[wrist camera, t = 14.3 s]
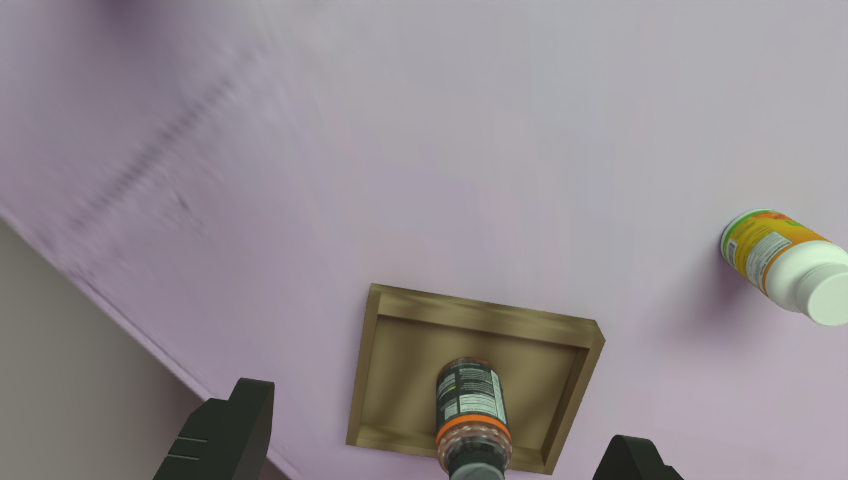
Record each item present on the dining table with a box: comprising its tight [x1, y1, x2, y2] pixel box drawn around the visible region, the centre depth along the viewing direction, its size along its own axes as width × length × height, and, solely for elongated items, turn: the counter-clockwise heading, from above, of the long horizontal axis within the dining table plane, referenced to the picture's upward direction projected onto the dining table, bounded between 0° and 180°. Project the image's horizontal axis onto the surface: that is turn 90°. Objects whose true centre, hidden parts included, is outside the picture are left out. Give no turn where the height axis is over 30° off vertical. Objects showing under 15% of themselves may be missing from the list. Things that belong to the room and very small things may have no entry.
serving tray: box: [346, 283, 606, 475], centre depth 45 cm, size 20×16×3 cm
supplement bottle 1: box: [436, 357, 513, 480], centre depth 41 cm, size 6×6×11 cm
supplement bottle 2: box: [721, 209, 848, 326], centre depth 36 cm, size 5×5×10 cm
